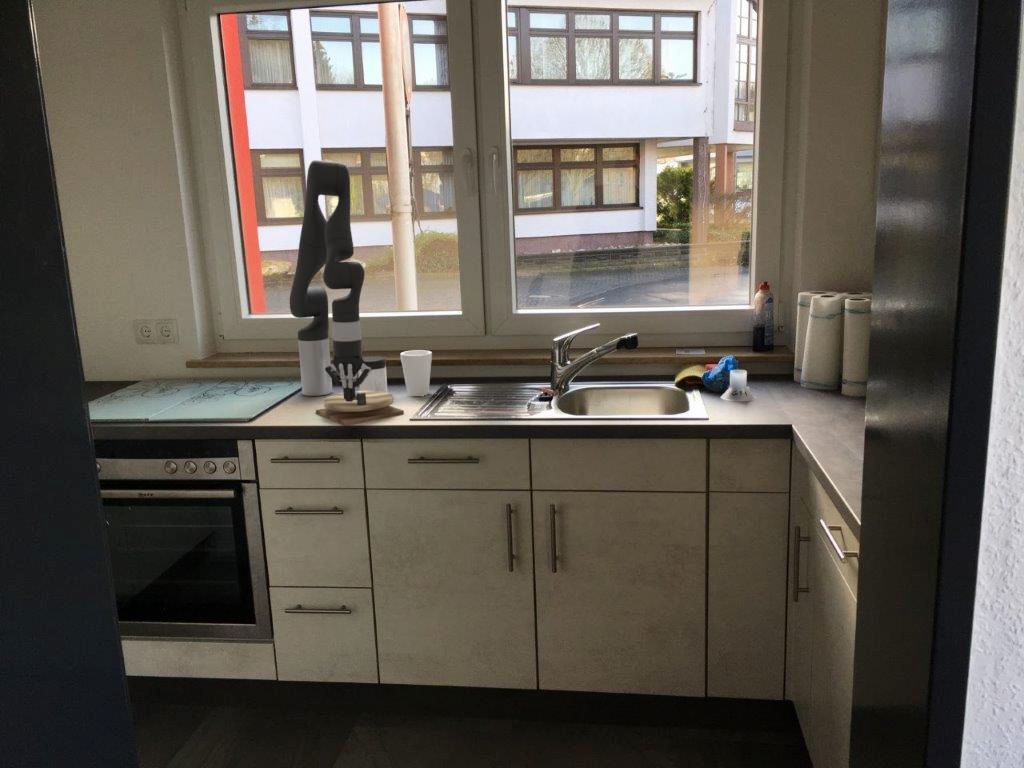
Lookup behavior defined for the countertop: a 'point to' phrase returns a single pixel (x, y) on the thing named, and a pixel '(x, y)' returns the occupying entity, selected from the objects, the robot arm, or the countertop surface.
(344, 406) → the handwheel
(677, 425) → the countertop surface
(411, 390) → the foam cup
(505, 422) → the countertop surface
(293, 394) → the countertop surface
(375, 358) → the jar
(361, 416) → the mount
